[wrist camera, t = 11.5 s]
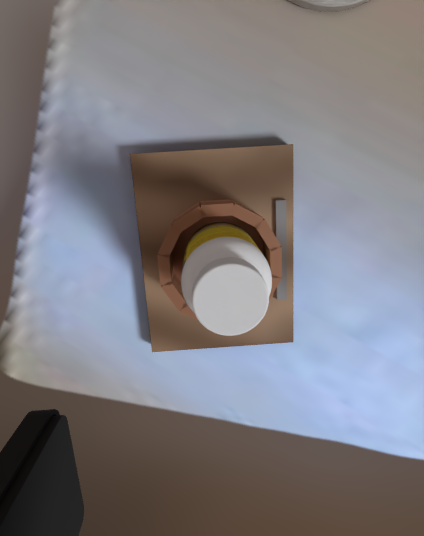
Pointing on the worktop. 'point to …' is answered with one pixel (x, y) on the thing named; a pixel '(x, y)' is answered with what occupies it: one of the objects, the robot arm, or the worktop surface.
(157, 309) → the cup station
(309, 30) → the worktop surface
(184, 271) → the supplement bottle
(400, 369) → the worktop surface
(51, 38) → the worktop surface
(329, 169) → the worktop surface
